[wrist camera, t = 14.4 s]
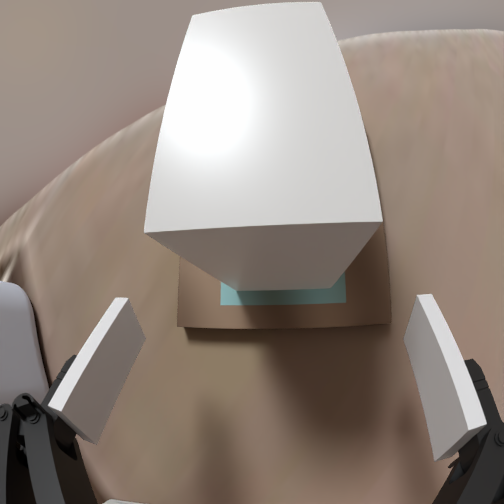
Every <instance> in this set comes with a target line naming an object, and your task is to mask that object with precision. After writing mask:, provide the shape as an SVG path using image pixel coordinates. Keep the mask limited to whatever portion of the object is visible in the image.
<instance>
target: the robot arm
mask: <svg viewBox="0 0 504 504" xmlns="http://www.w3.org/2000/svg"><path fill="white" fill-rule="evenodd" d="M145 339H146V337H145V335H144V333H143V331H142V329H141V326H140V324H139V322H138V320H137V317H136V315H135V313H134V310H133V308H132V306H131V303H130V301H129V298H115V300H114V301H113V302H112V304H111V305H110V307H109V308H108V310H107V311H106V313H105V314H104V315H103V317H102V318H101V320H100V321H99V323H98V324H97V326H96V327H95V329H94V330H93V332H92V333H91V335H90V336H89V338H88V340H87V341H86V343H85V344H84V346H83V347H82V349H81V350H80V352H79V354H78V355H73V356H72V357H71V358H70V359H69V360H68V361H66V363H65V364H64V366H63V367H62V369H61V372H59V374H58V376H57V377H56V378H57V379H55V381H54V382H53V384H52V386H51V387H50V389H49V391H48V392H47V394H46V396H45V398H44V399H43V401H42V403H41V404H39V403H38V402H37V401H36V400H35V399H34V398H33V397H32V396H31V395H30V394H29V393H22V394H20V395H18V396H17V397H16V398H15V399H14V401H13V403H12V407H11V406H10V405H9V404H6V403H4V404H1V405H0V504H98V503H97V500H96V498H95V495H94V492H93V490H92V487H91V484H90V481H89V478H88V475H87V472H86V469H85V466H84V463H83V459H82V456H81V452H80V449H79V445H78V442H77V440H76V438H75V436H76V434H78V435H79V436H80V437H81V438H82V439H83V440H86V441H88V442H91V443H93V444H96V445H97V443H98V441H99V439H100V436H101V434H102V432H103V429H104V427H105V425H106V422H107V420H108V418H109V416H110V413H111V411H112V409H113V407H114V404H115V402H116V400H117V398H118V396H119V394H120V391H121V389H122V387H123V385H124V383H125V381H126V379H127V376H128V374H129V372H130V370H131V368H132V366H133V364H134V362H135V360H136V358H137V356H138V354H139V352H140V350H141V347H142V345H143V343H144V341H145ZM403 340H404V343H405V346H406V349H407V352H408V355H409V359H410V362H411V365H412V368H413V372H414V375H415V379H416V382H417V386H418V390H419V393H420V397H421V401H422V405H423V409H424V413H425V418H426V422H427V426H428V431H429V436H430V441H431V446H432V451H433V456H434V462H435V461H439V460H442V459H446V458H449V457H452V456H453V455H454V454H455V453H456V452H459V457H458V458H457V459H456V460H455V461H453V462H452V463H451V464H450V465H449V467H448V468H451V467H453V466H454V467H453V469H452V470H451V472H450V474H449V476H448V478H447V480H446V481H445V483H444V485H443V487H442V488H441V490H440V492H439V493H438V495H437V497H436V498H435V500H434V501H433V503H432V504H504V423H503V422H502V420H501V418H500V416H499V413H498V410H497V407H496V404H495V401H494V399H493V396H492V394H491V391H490V389H489V388H488V387H489V386H488V383H487V381H486V380H485V376H484V374H483V371H482V369H481V367H480V366H479V365H478V364H477V363H476V362H475V361H474V360H473V359H470V360H465V361H464V360H463V358H462V355H461V353H460V351H459V349H458V346H457V344H456V342H455V340H454V338H453V335H452V333H451V331H450V329H449V327H448V325H447V323H446V321H445V319H444V317H443V315H442V313H441V311H440V309H439V307H438V305H437V303H436V301H435V299H434V298H433V296H432V294H424V295H417V296H416V300H415V303H414V307H413V310H412V313H411V317H410V320H409V323H408V326H407V329H406V332H405V335H404V338H403ZM16 442H18V443H19V444H20V445H21V447H20V449H18V448H17V447H16Z"/></svg>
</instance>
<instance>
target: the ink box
mask: <svg viewBox="0 0 504 504" xmlns="http://www.w3.org/2000/svg"><path fill="white" fill-rule="evenodd" d="M103 504H142V503H135V502H127V501H120V500H114V499H110V500H108V501H106V502H105V503H103Z"/></svg>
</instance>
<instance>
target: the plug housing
mask: <svg viewBox="0 0 504 504" xmlns="http://www.w3.org/2000/svg"><path fill="white" fill-rule="evenodd" d="M382 222H383V219H382V213H381V206H380V200H379V194H378V189H377V183H376V178H375V173H374V168H373V163H372V158H371V154H370V149H369V145H368V141H367V136H366V132H365V128H364V125H363V121H362V117H361V113H360V110H359V106H358V103H357V99H356V96H355V92H354V89H353V86H352V83H351V80H350V77H349V73H348V70H347V68H346V65H345V62H344V59H343V56H342V53H341V50H340V48H339V45H338V42H337V40H336V37H335V35H334V32H333V30H332V28H331V25H330V22H329V20H328V18H327V15H326V13H325V11H324V8H323V6H322V4H321V2H291V3H290V2H289V3H273V4H260V5H251V6H243V7H236V8H229V9H223V10H217V11H212V12H207V13H202V14H197V15H193V16H192V19H191V21H190V24H189V27H188V30H187V33H186V36H185V39H184V42H183V45H182V49H181V52H180V55H179V59H178V62H177V66H176V69H175V73H174V76H173V80H172V84H171V87H170V91H169V95H168V99H167V103H166V108H165V112H164V116H163V121H162V125H161V130H160V135H159V139H158V144H157V150H156V155H155V160H154V166H153V172H152V178H151V184H150V190H149V197H148V204H147V211H146V219H145V227H144V233H145V234H147V235H148V236H150V237H151V238H153V239H154V240H156V241H157V242H159V243H160V244H162V245H164V246H165V247H167V248H168V249H170V250H171V251H173V252H174V253H176V254H178V255H179V256H181V257H182V258H184V259H185V260H187V261H189V262H190V263H192V264H193V265H195V266H197V267H198V268H200V269H201V270H203V271H205V272H206V273H208V274H209V275H211V276H213V277H214V278H216V279H218V280H219V281H221V282H222V283H224V284H226V285H227V286H229V287H231V288H232V289H234V290H236V291H260V290H299V289H326V288H331V287H332V286H333V285H334V284H335V282H336V281H337V280H338V279H339V278H340V276H341V275H342V274H343V273H344V271H345V270H346V269H347V268H348V266H349V265H350V264H351V263H352V261H353V260H354V259H355V258H356V256H357V255H358V254H359V252H360V251H361V250H362V249H363V247H364V246H365V245H366V243H367V242H368V241H369V239H370V238H371V237H372V235H373V234H374V233H375V231H376V230H377V229H378V227H379V226H380V225H381V223H382Z"/></svg>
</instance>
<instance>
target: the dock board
mask: <svg viewBox="0 0 504 504" xmlns="http://www.w3.org/2000/svg"><path fill="white" fill-rule="evenodd" d="M362 121H363V119H362ZM363 125H364V123H363ZM364 128H365V127H364ZM365 132H366V131H365ZM366 136H367V135H366ZM367 141H368V139H367ZM368 145H369V143H368ZM369 149H370V148H369ZM370 154H371V152H370ZM371 158H372V157H371ZM372 163H373V161H372ZM373 168H374V166H373ZM374 173H375V171H374ZM375 178H376V176H375ZM376 183H377V182H376ZM377 189H378V187H377ZM378 194H379V193H378ZM379 200H380V199H379ZM380 206H381V205H380ZM381 213H382V211H381ZM382 219H383V218H382ZM387 323H391V300H390V283H389V270H388V259H387V250H386V241H385V233H384V225H383V222H382V223H381V225H380V226H379V227H378V229H377V230H376V231H375V233H374V234H373V235H372V237H371V238H370V239H369V241H368V242H367V243H366V245H365V246H364V247H363V249H362V250H361V251H360V252H359V254H358V255H357V256H356V258H355V259H354V260H353V261H352V263H351V264H350V265H349V266H348V268H347V269H346V270H345V271H344V273H343V274H342V275H341V276H340V278H339V279H338V280H337V281H336V282H335V284H334V285H333V286H332V287H331V288H326V289H299V290H260V291H236V290H234V289H232V288H231V287H229V286H227V285H226V284H224V283H222V282H221V281H219V280H218V279H216V278H214V277H213V276H211V275H209V274H208V273H206V272H205V271H203V270H201V269H200V268H198V267H197V266H195V265H193V264H192V263H190V262H189V261H187V260H185V259H184V258H182V257H181V256H180V266H179V286H178V313H177V327H196V328H228V329H292V328H324V327H344V326H361V325H374V324H387Z"/></svg>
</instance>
